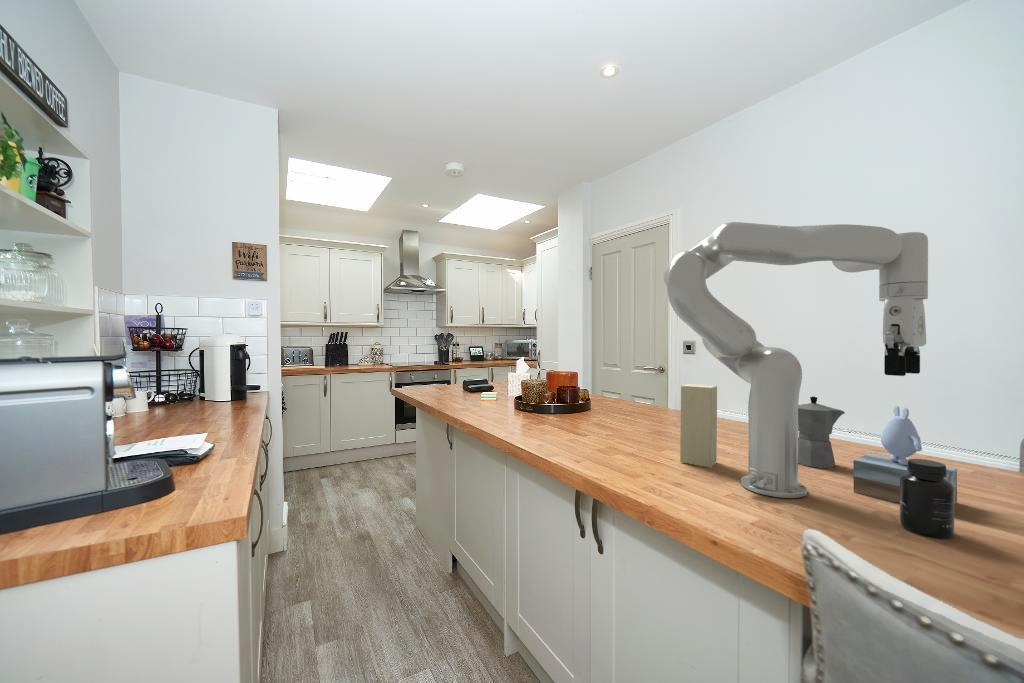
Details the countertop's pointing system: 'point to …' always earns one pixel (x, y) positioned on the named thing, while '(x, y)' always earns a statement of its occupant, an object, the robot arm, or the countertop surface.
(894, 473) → the silver block
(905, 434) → the toy figure
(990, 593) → the countertop surface
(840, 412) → the coffeepot
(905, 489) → the supplement bottle
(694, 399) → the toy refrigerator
